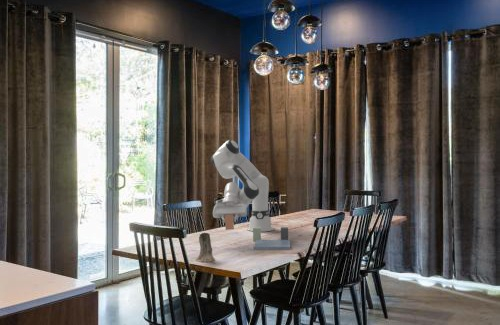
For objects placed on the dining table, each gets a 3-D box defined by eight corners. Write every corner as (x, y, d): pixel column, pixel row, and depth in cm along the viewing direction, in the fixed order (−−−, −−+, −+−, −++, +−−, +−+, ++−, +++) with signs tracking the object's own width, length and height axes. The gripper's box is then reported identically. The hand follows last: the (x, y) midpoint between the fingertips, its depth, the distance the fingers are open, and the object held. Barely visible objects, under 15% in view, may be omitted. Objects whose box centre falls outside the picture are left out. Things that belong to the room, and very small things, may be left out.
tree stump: (201, 263, 217) (200, 235, 217) (192, 259, 225) (192, 233, 225) (219, 260, 222) (218, 233, 222) (209, 257, 231) (209, 231, 231)
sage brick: (253, 240, 274) (253, 227, 274) (260, 240, 274) (260, 227, 274) (253, 241, 270) (253, 228, 270) (260, 241, 269) (260, 228, 269)
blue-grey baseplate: (256, 242, 267) (256, 239, 267) (289, 242, 265) (289, 239, 265) (254, 249, 247) (254, 246, 247) (290, 249, 245) (290, 246, 245)
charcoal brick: (281, 240, 273) (280, 227, 273) (288, 240, 273) (288, 227, 272) (281, 241, 268) (280, 228, 268) (288, 241, 268) (288, 228, 268)
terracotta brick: (226, 228, 258) (225, 215, 258) (234, 228, 257) (233, 214, 258) (225, 229, 253) (224, 215, 253) (233, 229, 253) (232, 215, 253)
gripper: (248, 206, 266) (247, 224, 256) (214, 208, 268) (213, 225, 258) (247, 199, 262) (246, 217, 252) (213, 201, 264) (211, 218, 253)
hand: (229, 221), depth 255 cm, fingers closed on terracotta brick, 4 cm apart
